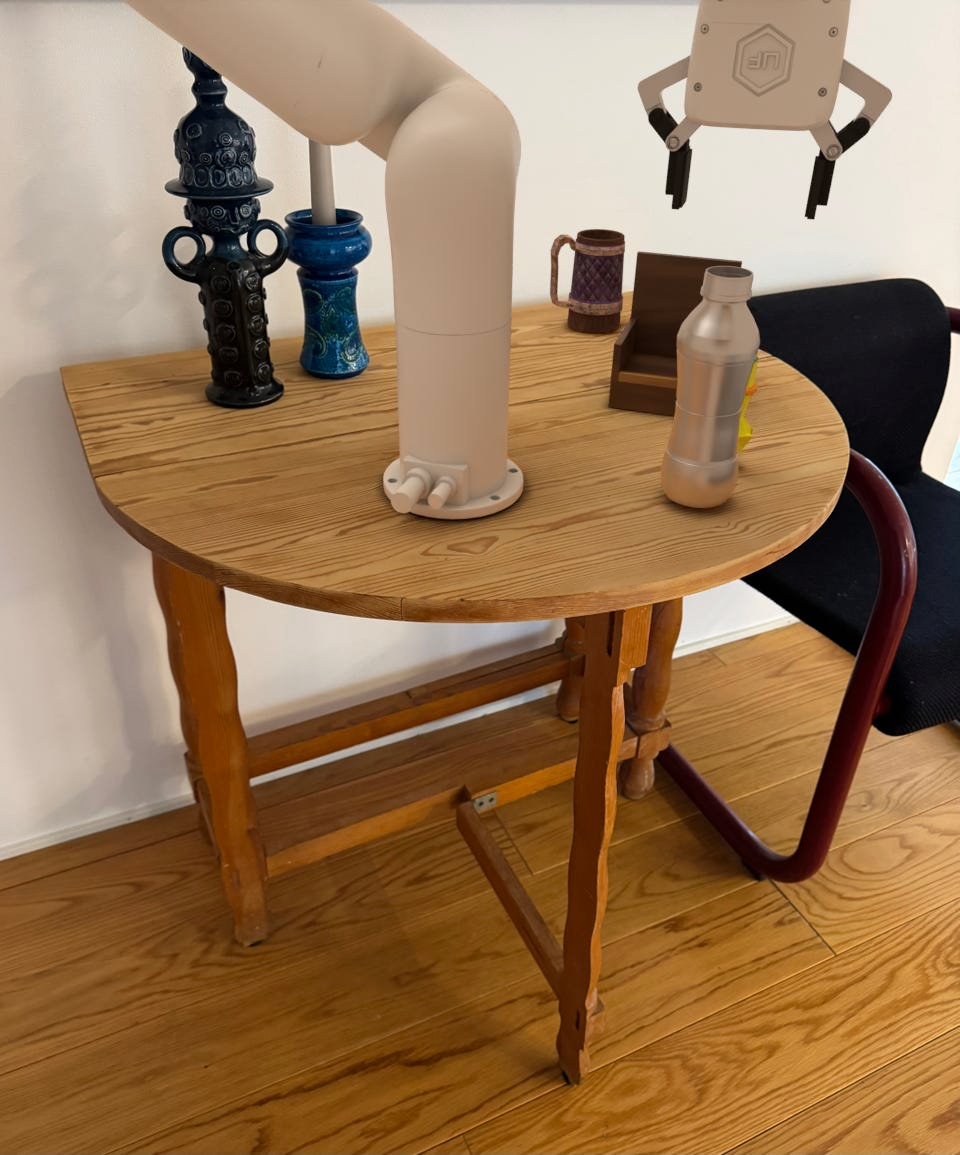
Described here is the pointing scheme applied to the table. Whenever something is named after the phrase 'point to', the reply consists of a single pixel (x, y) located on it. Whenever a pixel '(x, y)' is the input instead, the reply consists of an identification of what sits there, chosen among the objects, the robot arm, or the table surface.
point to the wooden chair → (656, 330)
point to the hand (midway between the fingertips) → (743, 210)
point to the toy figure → (744, 427)
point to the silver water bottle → (711, 390)
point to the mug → (592, 280)
